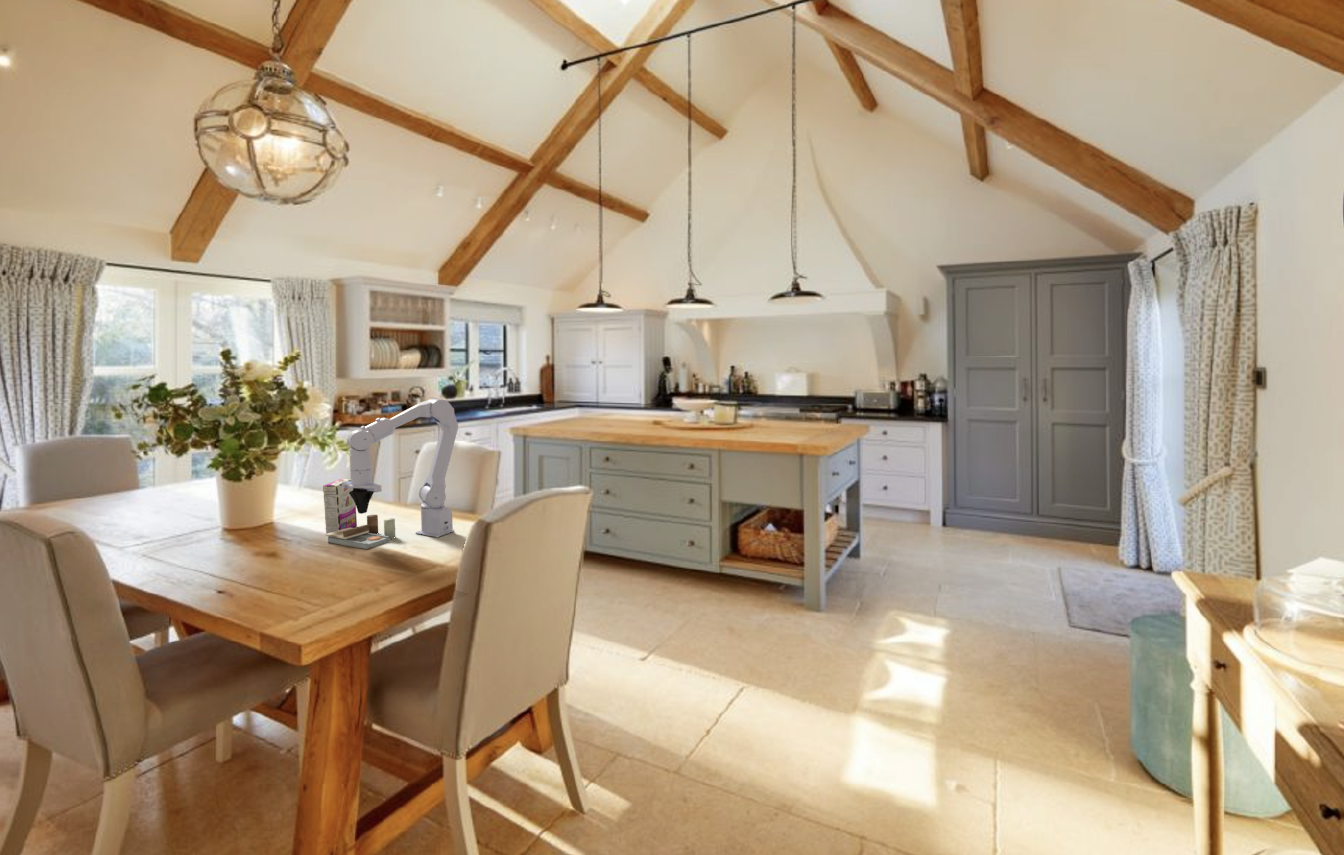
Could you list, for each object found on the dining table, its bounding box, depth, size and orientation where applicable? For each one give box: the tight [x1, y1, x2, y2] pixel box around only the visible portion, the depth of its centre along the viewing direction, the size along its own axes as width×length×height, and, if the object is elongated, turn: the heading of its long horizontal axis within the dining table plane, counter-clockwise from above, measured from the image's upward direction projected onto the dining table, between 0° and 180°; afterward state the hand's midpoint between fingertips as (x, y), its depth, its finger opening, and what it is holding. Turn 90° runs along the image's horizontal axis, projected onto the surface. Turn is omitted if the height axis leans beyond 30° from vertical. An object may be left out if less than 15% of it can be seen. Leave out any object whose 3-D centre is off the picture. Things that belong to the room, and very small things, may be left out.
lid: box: [325, 524, 369, 539], centre depth 205 cm, size 8×9×2 cm
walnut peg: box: [366, 514, 379, 534], centre depth 212 cm, size 3×3×6 cm
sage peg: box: [383, 517, 396, 540], centre depth 208 cm, size 3×3×6 cm
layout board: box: [327, 533, 390, 550], centre depth 203 cm, size 16×9×2 cm, turn 67°
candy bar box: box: [322, 478, 358, 535], centre depth 215 cm, size 11×5×16 cm, turn 179°
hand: (362, 512), depth 201 cm, fingers closed
